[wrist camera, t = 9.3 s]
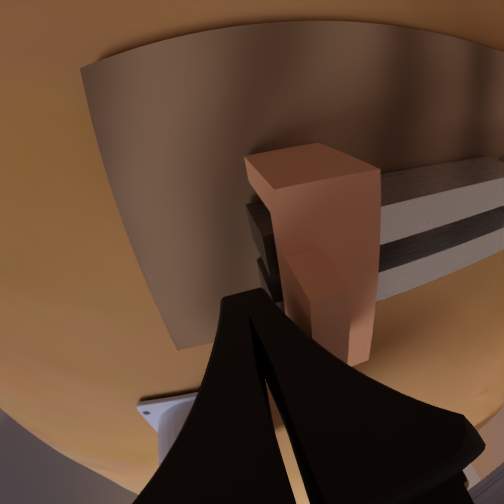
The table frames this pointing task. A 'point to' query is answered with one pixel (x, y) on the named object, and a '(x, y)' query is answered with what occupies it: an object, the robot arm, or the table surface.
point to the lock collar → (324, 241)
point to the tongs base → (423, 254)
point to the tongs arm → (411, 201)
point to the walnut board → (270, 134)
